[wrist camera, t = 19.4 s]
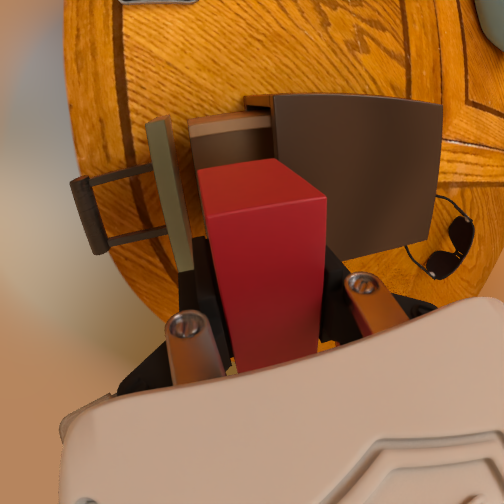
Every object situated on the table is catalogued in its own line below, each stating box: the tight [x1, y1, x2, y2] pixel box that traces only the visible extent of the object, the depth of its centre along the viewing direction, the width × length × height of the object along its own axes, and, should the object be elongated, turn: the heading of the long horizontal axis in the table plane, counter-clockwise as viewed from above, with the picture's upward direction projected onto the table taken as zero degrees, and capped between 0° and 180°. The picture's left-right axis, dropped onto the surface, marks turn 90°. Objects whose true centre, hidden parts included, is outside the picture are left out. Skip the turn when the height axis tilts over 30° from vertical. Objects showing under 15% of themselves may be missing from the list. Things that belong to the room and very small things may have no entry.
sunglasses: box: [405, 195, 475, 280], centre depth 33 cm, size 10×12×5 cm
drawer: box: [70, 109, 274, 272], centre depth 21 cm, size 20×11×7 cm, turn 95°
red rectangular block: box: [197, 158, 327, 373], centre depth 11 cm, size 8×3×4 cm, turn 5°
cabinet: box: [244, 93, 443, 261], centre depth 23 cm, size 15×13×9 cm
